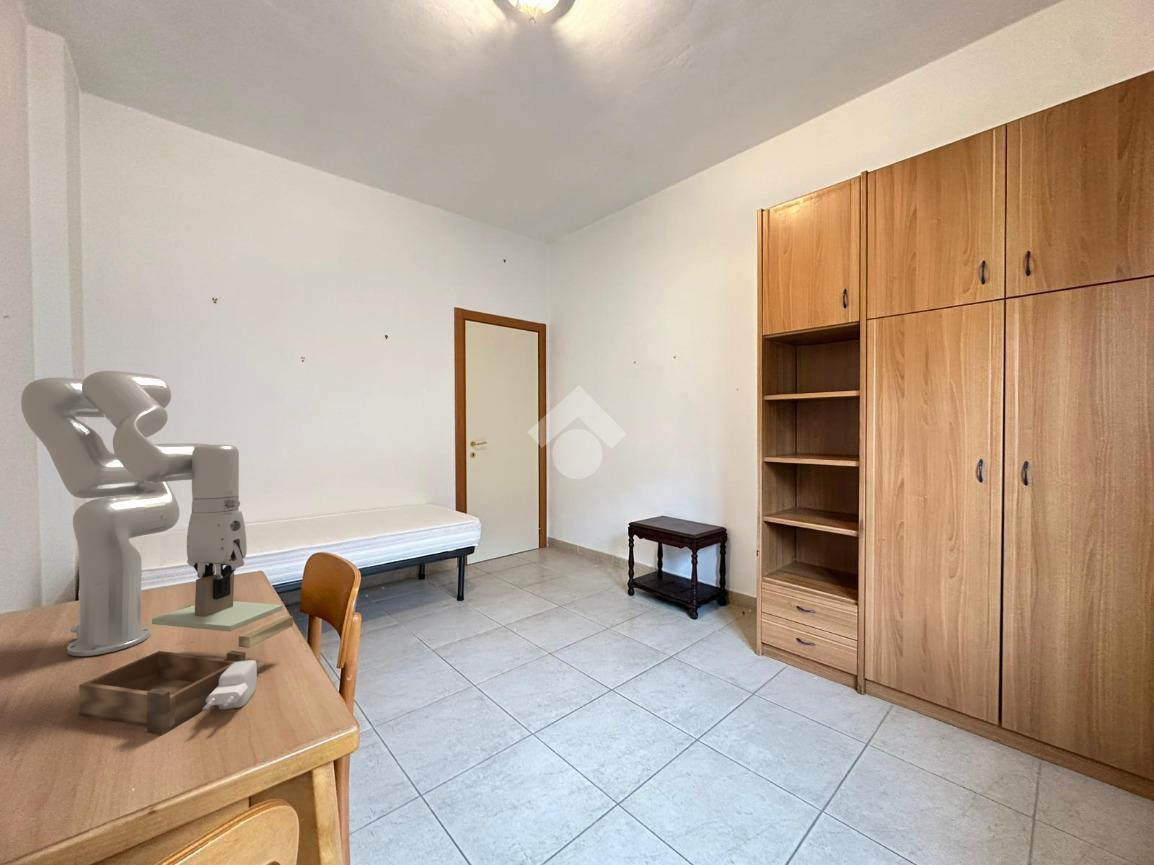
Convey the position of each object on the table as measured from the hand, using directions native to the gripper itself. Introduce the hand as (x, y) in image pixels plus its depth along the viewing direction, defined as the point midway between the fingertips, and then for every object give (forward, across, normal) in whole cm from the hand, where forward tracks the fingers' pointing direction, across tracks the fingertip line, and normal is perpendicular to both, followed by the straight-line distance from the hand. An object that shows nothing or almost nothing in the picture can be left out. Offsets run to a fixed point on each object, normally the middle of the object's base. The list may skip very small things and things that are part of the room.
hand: (215, 596), depth 94 cm
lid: (+4, -2, 0) cm, 4 cm away
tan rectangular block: (+7, -13, +1) cm, 15 cm away
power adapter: (+13, -19, +14) cm, 27 cm away
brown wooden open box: (+13, -6, +14) cm, 20 cm away
